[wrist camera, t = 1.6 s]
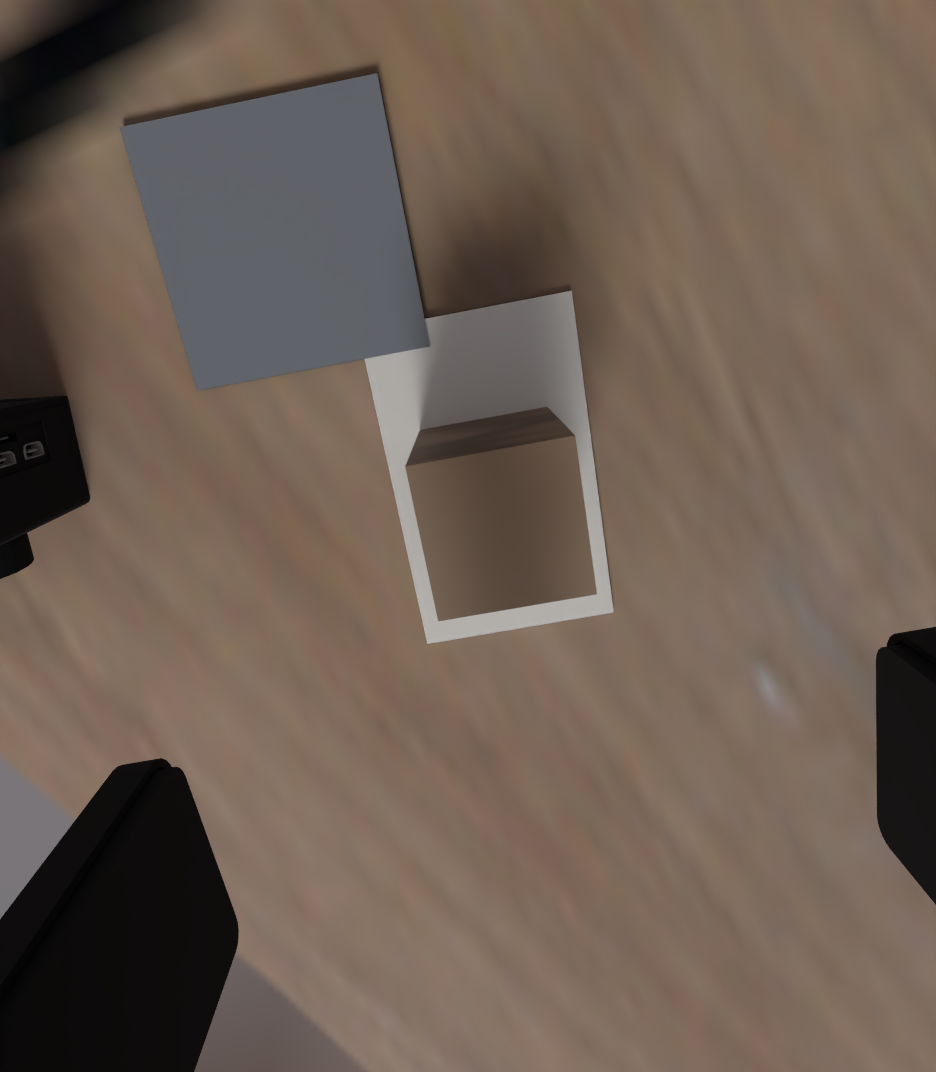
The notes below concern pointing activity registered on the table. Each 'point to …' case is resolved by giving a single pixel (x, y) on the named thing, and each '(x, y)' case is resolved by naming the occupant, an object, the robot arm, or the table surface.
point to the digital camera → (35, 473)
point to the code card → (480, 392)
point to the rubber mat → (280, 231)
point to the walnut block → (501, 513)
